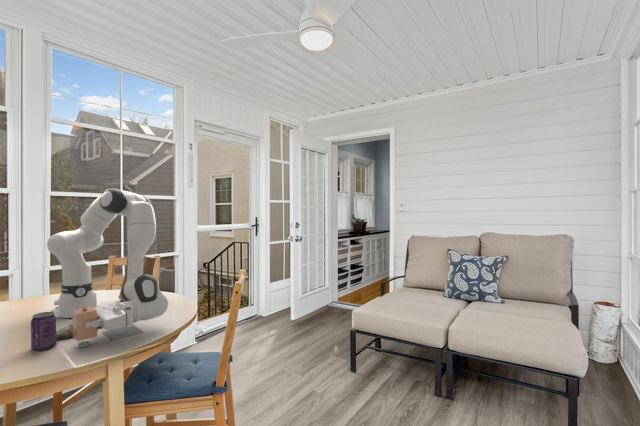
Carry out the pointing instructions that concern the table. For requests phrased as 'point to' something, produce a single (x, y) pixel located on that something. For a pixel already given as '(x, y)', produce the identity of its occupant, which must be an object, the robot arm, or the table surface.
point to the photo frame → (147, 269)
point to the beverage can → (43, 330)
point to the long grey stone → (66, 332)
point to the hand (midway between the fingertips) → (81, 322)
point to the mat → (122, 332)
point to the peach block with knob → (78, 323)
